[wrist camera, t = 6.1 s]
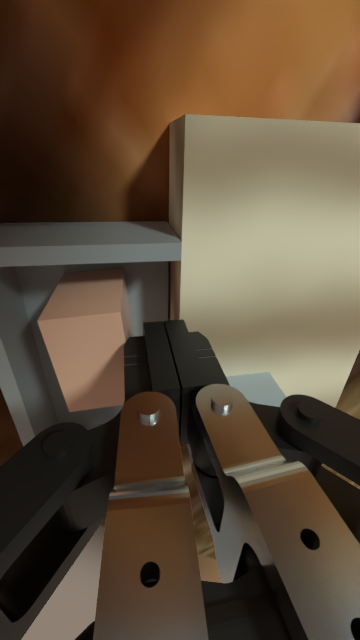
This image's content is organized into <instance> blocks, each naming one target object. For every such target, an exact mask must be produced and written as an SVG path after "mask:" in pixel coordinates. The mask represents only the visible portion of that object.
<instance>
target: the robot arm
mask: <svg viewBox="0 0 360 640" xmlns="http://www.w3.org/2000/svg"><path fill="white" fill-rule="evenodd" d="M124 389H125V401H124V405H123V407H122V409H121V411H120V412H119V413H118V414H117V415H116V416H115V417H114V418H113V419H112V420H110V421H108V422H107V423H105V424H102V425H100V426H98V427H95V428H93V429H90V430H87V429H86V428H85V427H84V426H82V425H80V424H78V423H73V422H65V423H59V424H55V425H53V426H50V427H48V428H46V429H45V430H43V431H41V432H40V433H39V434H38V435H36V436H35V437H34V438H33V439H32V440H31V441H29V442H28V443H27V444H26V445H25V446H24V447H23V448H21V449H20V450H19V451H18V452H17V453H16V454H15V455H13V456H12V457H11V458H10V459H9V460H8V461H7V462H5V463H4V464H3V465H2V466H1V467H0V640H21V639H22V637H23V636H24V634H25V633H26V631H27V630H28V629H29V627H30V626H31V624H32V623H33V621H34V620H35V618H36V617H37V616H38V614H39V613H40V611H41V610H42V608H43V607H44V605H45V604H46V603H47V601H48V600H49V598H50V597H51V595H52V594H53V592H54V591H55V589H56V588H57V586H58V585H59V584H60V582H61V581H62V579H63V578H64V576H65V575H66V573H67V572H68V571H69V569H70V568H71V566H72V565H73V563H74V562H75V560H76V559H77V557H78V556H79V554H80V553H81V551H82V550H83V549H84V547H85V546H86V544H87V543H88V542H89V540H90V539H91V537H92V536H93V534H94V533H95V531H96V530H97V528H98V527H99V525H100V524H101V521H102V519H103V518H105V517H106V523H105V532H104V542H103V551H102V561H101V570H100V579H99V588H98V589H99V590H98V598H97V607H96V618H95V621H94V622H93V623H91V624H90V625H89V626H88V627H87V628H86V629H85V630H84V631H83V632H82V633H81V634H80V635H79V636H78V637H77V638H76V639H75V640H360V490H359V489H358V488H356V487H354V486H353V485H351V484H350V483H348V482H346V481H345V480H343V479H342V478H340V477H338V476H337V475H335V474H333V473H332V472H330V471H329V470H327V469H325V468H324V467H322V466H321V465H322V463H323V464H325V465H327V466H328V467H330V468H332V469H333V470H335V471H337V472H338V473H340V474H341V475H343V476H345V477H346V478H348V479H350V480H351V481H353V482H355V483H356V484H358V485H359V486H360V420H359V419H357V418H355V417H353V416H351V415H349V414H347V413H345V412H342V411H340V410H338V409H336V408H334V407H332V406H330V405H328V404H326V403H324V402H322V401H320V400H318V399H316V398H314V397H311V396H307V395H300V394H296V395H290V396H288V397H286V398H284V399H283V401H282V402H281V405H280V407H276V406H269V405H262V404H256V403H252V402H249V401H247V399H246V397H245V396H244V395H243V394H242V393H241V392H240V391H239V390H237V389H236V388H234V387H232V386H230V384H229V382H228V380H227V378H226V376H225V374H224V372H223V370H222V368H221V366H220V364H219V361H218V359H217V357H216V355H215V353H214V351H213V350H212V347H211V345H210V343H209V340H208V339H207V338H206V337H205V336H204V335H202V334H201V333H200V332H199V331H197V332H188V329H187V327H186V324H185V321H184V320H183V319H181V320H167V321H164V322H163V321H154V322H143V336H135V337H129V338H128V340H127V341H126V343H125V344H124ZM184 444H189V445H190V449H191V453H192V460H191V468H192V472H193V475H194V478H195V481H196V485H197V488H198V491H199V494H200V497H201V501H202V504H203V507H204V510H205V514H206V517H207V520H208V523H209V526H210V530H211V533H212V536H213V540H214V545H215V554H216V561H217V566H218V571H219V575H220V579H221V582H222V583H216V582H207V581H201V579H200V571H199V563H198V555H197V547H196V540H195V532H194V525H193V517H192V509H191V502H190V495H189V489H188V485H187V483H185V479H184V473H183V464H182V456H181V448H180V445H184Z"/></svg>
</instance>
